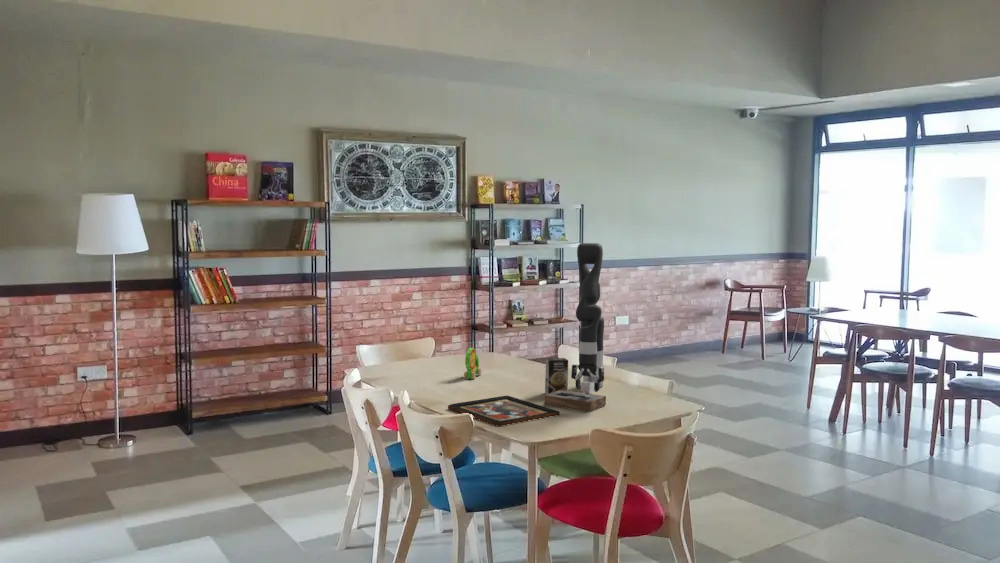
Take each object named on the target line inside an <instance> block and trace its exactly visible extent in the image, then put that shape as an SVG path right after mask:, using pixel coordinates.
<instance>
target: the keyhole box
mask: <svg viewBox="0 0 1000 563" xmlns="http://www.w3.org/2000/svg"><path fill="white" fill-rule="evenodd" d="M543 398H544V399H543V405H544V406H549V405H551V406H550V407H556V406H558V407H557V408H562V407H563V408H564V409H568V408H570V409H569V410H575V409H576V411H581V410H583V411H582V412H588V411H590V412H589V413H591V412H594V411H596V410H599V409H601V408H604V407H605V405H607V402H606V401H607V396H606V395H599V394H593V393H590V398H588V399H587V398H585V392H578V391H571V390H568V391H565V390H559V391H556V392H553V393H550V394H545V395H544V396H543ZM600 407H601V408H600ZM598 408H599V409H598ZM593 410H594V411H593Z"/></svg>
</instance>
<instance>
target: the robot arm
mask: <svg viewBox="0 0 1000 563" xmlns="http://www.w3.org/2000/svg"><path fill="white" fill-rule="evenodd" d="M576 256H577V264H578V275H579V299H580V300H579V302H578V305H577V307H576V309H575V310H576V311H575V318H576V320H578V321H579V322H580V329H579V345H578V364H577V363H574V364H572V365H571V375H570V376H571V377H570V378H571V379H573V380H574V381H575V388H576V390H581V382H584V381H589V382H594V392H595V393H597V392H599V391H600V388H602V387H603V385H604V381H605V368H604V335H605V334H604V332H605V319H604V317H603V316H602V308H601V307H600V306H599V305H598V304H597V303H598V302H599V301H600V298H601V286H600V283H599V282H600V276H601V270H602V265H603V257H604V254H603V245H602V244H600V243H598V242H597V243H595V242H591V243H589V242H584V243H579V244H578V246H577V250H576ZM587 265H593V267H592V269H591V270H590V269H589V267H588V266H587ZM578 370H579V372H577V371H578ZM581 378H583V379H582V381H581Z"/></svg>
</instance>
